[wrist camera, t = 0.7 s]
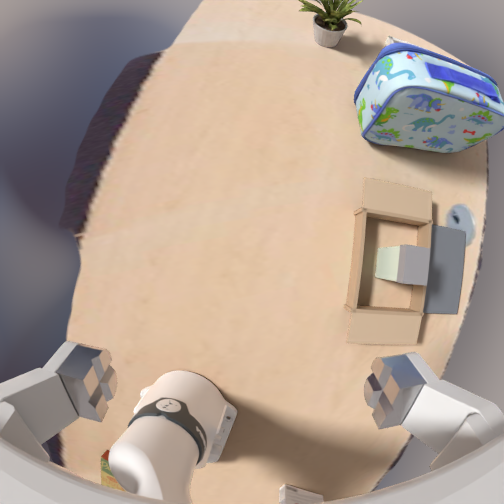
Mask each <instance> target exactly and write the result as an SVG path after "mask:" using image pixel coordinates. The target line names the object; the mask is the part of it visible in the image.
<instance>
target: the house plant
mask: <svg viewBox="0 0 504 504" xmlns="http://www.w3.org/2000/svg"><path fill="white" fill-rule="evenodd" d="M299 1H301V2H302V3H303V4H304V5H302V6H303V7H305V8H302V9H300V10H299V11H311V12H316V13H317V14H316V15H315V16H314V17H313V26H314V38H315V41H316V42H317V43H318V44H319V45H321V46H324V47H335V46H336V45H337V43H338V42H339V40H340V38H341V37H342V35H343V33H344V32H345V30H346V29H347V23H346V21H345V20H346V19H343V17H345V16H346V15H349V14H351V13H352V12H355V11H352V10H350V9H352V8H354V7H355V6H356V5H357V4H359V3H360V2H362V1H360V2H358V3H356V4H354V5H353V6H351V4H352V3H353V2H355V1H356V0H352V1H351V2H350V3H348V4H347V2H348V1H349V0H344V1H343V0H340V1H339V0H334V3H333V0H320V1H321V2H322V4H323V6H324V9H325V10H326V12H324V11H323V10H322V9H320V8H319V7H317V6H315V5H313V4H311V3H309V2H307V1H305V0H299ZM316 1H317V0H316ZM328 1H329V4H330V6H329V4H328ZM342 1H343V2H342ZM317 2H318V3H320V2H319V1H317ZM341 2H342V4H341V5H340V3H341ZM320 4H321V3H320ZM339 5H340V6H339ZM338 6H339V8H338ZM337 8H338V10H337ZM336 10H337V11H336ZM299 11H298V12H299ZM347 19H348V20H353V21H356V22H358V23H360V24H361V22H360V21H359V20H357V19H353V18H347ZM361 26H362V25H361Z"/></svg>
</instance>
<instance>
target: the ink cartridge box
mask: <svg viewBox="0 0 504 504" xmlns="http://www.w3.org/2000/svg"><path fill="white" fill-rule="evenodd" d="M320 502H324V499H323V495H320V494H316V493H313V492H309V491H306V490H303V489H299V488H296V487H293V486H290V485H287V484H284V485H283V486H282V487H280V488H279V503H281V504H313V503H320Z"/></svg>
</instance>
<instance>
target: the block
mask: <svg viewBox="0 0 504 504" xmlns="http://www.w3.org/2000/svg"><path fill="white" fill-rule="evenodd" d="M429 261H430V248H426V247H419V246H412V245H400V246H395V247H384V248H378V253H377V263H376V272H375V277H376V278H381V279H386V280H391V281H396V282H398V283H403V284H414V285H426V286H427V280H428V271H429Z"/></svg>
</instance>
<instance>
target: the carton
mask: <svg viewBox="0 0 504 504" xmlns="http://www.w3.org/2000/svg"><path fill="white" fill-rule="evenodd" d="M109 452H110V451H109V450H107V451H106V452H105V453H104V454H103V455H102V456H101V484H102V485H104V486H107V487H110V488H113V489H117V490H120V491H124V492H126V491H125V490H124V489H123V488H122V487H121V486H120V485H119V483H118V482H117V481H116V479H115V477H114V476H113V474H112V472H111V470H110V467H109V460H108V457H109Z"/></svg>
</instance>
